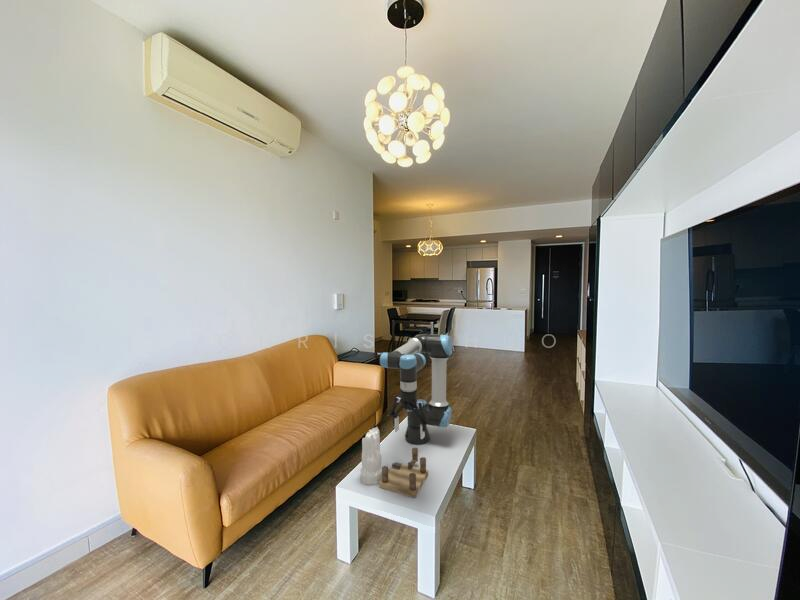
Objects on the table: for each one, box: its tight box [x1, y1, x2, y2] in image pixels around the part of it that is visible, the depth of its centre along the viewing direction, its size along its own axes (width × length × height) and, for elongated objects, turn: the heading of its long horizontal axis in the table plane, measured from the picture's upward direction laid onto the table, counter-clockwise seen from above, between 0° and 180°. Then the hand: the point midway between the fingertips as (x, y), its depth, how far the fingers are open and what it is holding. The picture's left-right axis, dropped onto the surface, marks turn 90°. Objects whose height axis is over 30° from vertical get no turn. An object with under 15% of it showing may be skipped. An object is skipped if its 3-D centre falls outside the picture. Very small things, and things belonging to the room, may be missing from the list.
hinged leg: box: [407, 447, 419, 469], centre depth 162 cm, size 10×3×6 cm, turn 156°
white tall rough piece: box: [360, 426, 383, 486], centre depth 155 cm, size 11×11×25 cm
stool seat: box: [379, 456, 429, 498], centre depth 153 cm, size 18×18×9 cm
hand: (409, 434), depth 145 cm, fingers open, 13 cm apart
